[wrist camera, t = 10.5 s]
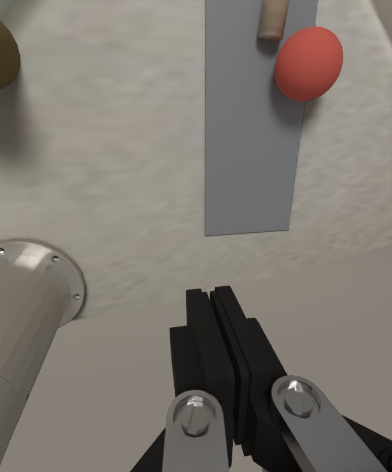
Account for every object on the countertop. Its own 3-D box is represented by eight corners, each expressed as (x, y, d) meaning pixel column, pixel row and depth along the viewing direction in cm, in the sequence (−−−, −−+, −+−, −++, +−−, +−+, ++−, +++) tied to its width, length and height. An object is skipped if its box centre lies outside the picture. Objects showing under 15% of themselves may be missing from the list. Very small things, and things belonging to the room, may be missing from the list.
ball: (285, 33, 29) (259, 93, 30) (303, 0, 23) (270, 76, 24) (338, 57, 29) (310, 115, 30) (369, 30, 23) (332, 104, 25)
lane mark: (287, 229, 36) (288, 229, 36) (204, 235, 35) (205, 235, 35) (317, -2, 27) (318, -3, 27) (205, -8, 26) (206, -9, 25)
